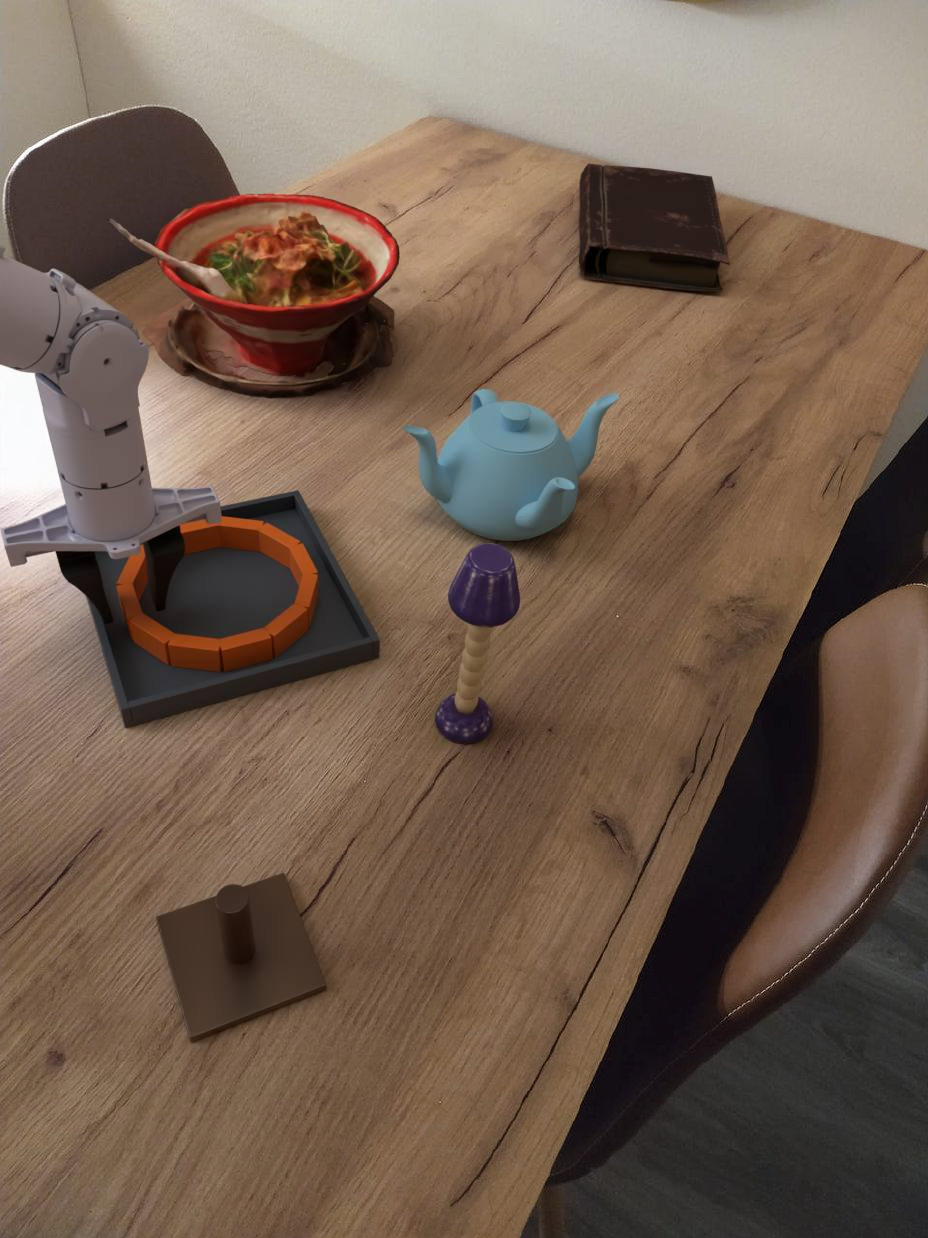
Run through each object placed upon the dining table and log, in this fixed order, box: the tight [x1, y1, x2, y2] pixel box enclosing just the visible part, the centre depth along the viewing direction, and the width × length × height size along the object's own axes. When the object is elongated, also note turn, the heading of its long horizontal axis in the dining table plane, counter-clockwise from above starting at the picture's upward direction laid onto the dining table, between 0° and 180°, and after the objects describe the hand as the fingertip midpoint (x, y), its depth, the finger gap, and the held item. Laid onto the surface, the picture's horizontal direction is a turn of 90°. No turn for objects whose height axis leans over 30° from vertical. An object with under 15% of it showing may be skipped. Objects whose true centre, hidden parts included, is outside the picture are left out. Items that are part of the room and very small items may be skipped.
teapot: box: [402, 388, 620, 542], centre depth 90 cm, size 15×15×10 cm
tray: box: [85, 489, 381, 729], centre depth 80 cm, size 19×19×2 cm
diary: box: [578, 162, 731, 293], centre depth 132 cm, size 19×25×5 cm
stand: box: [155, 872, 327, 1043], centre depth 59 cm, size 8×8×7 cm
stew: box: [107, 193, 401, 399], centre depth 102 cm, size 28×24×16 cm
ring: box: [117, 516, 319, 672], centre depth 80 cm, size 15×15×2 cm
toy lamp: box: [434, 542, 521, 745], centre depth 69 cm, size 5×5×17 cm
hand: (132, 608), depth 77 cm, fingers open, 3 cm apart
